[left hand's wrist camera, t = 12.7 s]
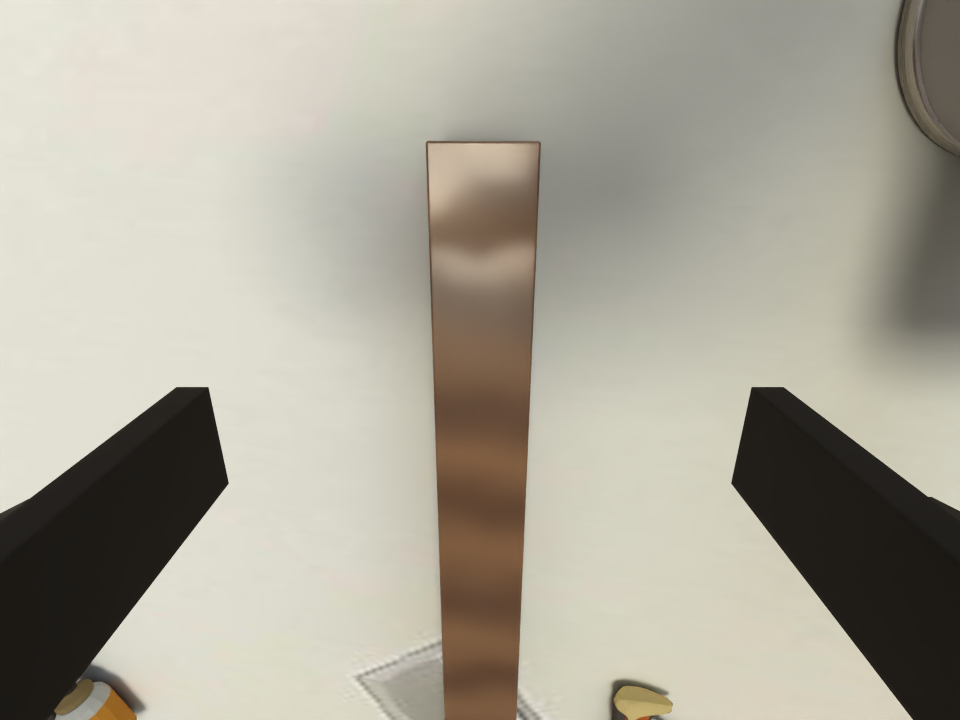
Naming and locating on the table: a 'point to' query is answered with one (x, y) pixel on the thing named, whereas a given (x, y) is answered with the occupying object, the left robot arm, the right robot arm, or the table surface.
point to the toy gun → (639, 704)
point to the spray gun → (92, 703)
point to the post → (482, 407)
